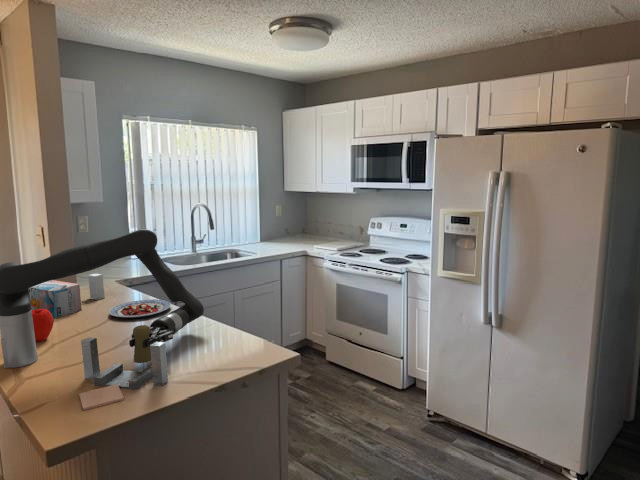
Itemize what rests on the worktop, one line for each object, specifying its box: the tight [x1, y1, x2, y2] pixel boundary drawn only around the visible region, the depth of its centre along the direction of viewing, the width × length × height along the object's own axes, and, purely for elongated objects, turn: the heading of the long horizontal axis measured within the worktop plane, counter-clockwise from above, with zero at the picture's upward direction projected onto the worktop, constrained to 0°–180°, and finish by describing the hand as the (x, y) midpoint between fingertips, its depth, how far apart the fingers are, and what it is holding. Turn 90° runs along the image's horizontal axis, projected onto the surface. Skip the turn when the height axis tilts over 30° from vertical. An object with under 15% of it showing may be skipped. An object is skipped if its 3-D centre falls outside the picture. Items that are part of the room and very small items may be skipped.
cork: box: [132, 324, 151, 364], centre depth 147 cm, size 6×6×11 cm
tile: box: [78, 384, 125, 411], centre depth 128 cm, size 10×10×1 cm
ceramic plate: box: [108, 299, 172, 319], centre depth 206 cm, size 26×26×3 cm
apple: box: [32, 309, 54, 342], centre depth 173 cm, size 10×10×12 cm
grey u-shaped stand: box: [80, 336, 169, 390], centre depth 138 cm, size 10×26×12 cm, turn 78°
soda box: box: [29, 279, 82, 319], centre depth 213 cm, size 41×14×13 cm, turn 64°
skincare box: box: [87, 273, 105, 301], centre depth 230 cm, size 6×4×12 cm
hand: (137, 344), depth 144 cm, fingers closed on cork, 4 cm apart
